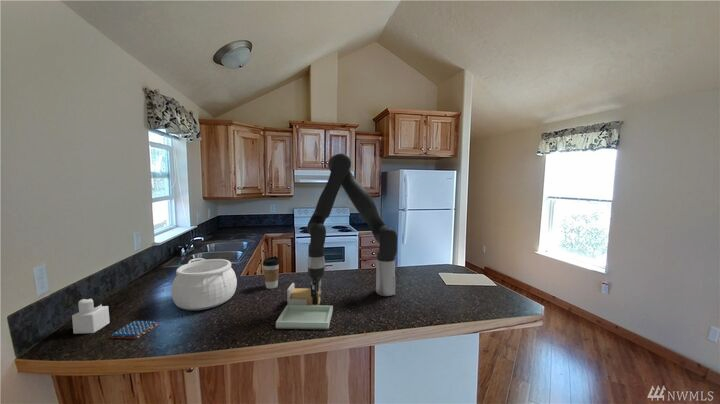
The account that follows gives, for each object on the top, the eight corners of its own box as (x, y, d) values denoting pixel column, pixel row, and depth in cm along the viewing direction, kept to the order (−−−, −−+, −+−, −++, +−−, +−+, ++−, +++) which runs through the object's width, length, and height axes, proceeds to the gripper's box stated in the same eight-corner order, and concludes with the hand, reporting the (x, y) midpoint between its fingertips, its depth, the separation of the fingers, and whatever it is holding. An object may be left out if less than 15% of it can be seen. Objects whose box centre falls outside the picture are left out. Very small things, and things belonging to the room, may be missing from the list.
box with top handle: (321, 301, 125) (321, 288, 124) (320, 306, 120) (320, 293, 119) (294, 300, 125) (294, 288, 125) (291, 305, 120) (291, 292, 120)
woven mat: (160, 324, 105) (160, 319, 105) (137, 340, 95) (137, 335, 95) (135, 324, 106) (134, 319, 106) (109, 340, 95) (108, 334, 95)
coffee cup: (283, 284, 144) (282, 257, 143) (272, 290, 137) (271, 262, 135) (271, 282, 148) (270, 255, 147) (259, 288, 140) (259, 260, 139)
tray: (332, 311, 115) (332, 305, 115) (328, 329, 101) (328, 322, 101) (286, 310, 116) (286, 305, 116) (275, 328, 102) (275, 322, 102)
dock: (310, 299, 127) (310, 283, 126) (306, 307, 118) (306, 290, 118) (292, 299, 127) (292, 282, 126) (287, 307, 119) (287, 289, 118)
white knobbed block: (90, 323, 105) (88, 294, 104) (110, 323, 106) (107, 293, 105) (72, 334, 98) (70, 302, 97) (93, 333, 99) (91, 301, 98)
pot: (247, 300, 126) (246, 264, 124) (182, 322, 106) (179, 280, 105) (224, 284, 145) (222, 253, 144) (165, 300, 126) (163, 264, 125)
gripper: (321, 270, 114) (321, 309, 115) (326, 260, 128) (326, 295, 129) (304, 270, 114) (304, 308, 115) (311, 260, 128) (311, 294, 130)
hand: (316, 301), depth 122 cm, fingers closed on box with top handle, 5 cm apart
